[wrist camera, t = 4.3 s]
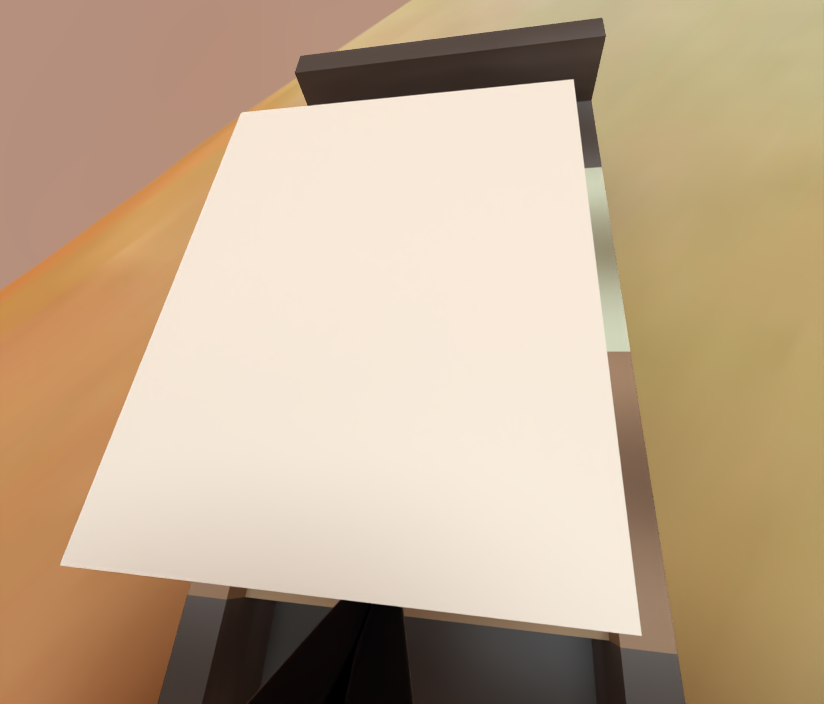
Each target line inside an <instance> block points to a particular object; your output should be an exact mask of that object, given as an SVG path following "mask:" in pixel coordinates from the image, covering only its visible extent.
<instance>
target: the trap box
mask: <svg viewBox="0 0 824 704" xmlns="http://www.w3.org/2000/svg"><path fill="white" fill-rule="evenodd" d="M605 37H606V34H605V29H604V24H603V19H602V18H597V19H589V20H581V21H573V22H565V23H558V24H550V25H542V26H534V27H526V28H518V29H510V30H502V31H494V32H487V33H479V34H471V35H463V36H455V37H447V38H439V39H431V40H423V41H415V42H408V43H400V44H392V45H384V46H376V47H368V48H360V49H352V50H344V51H337V52H329V53H321V54H313V55H305V56H300V59H299V62H298V65H297V68H296V71H295V74H296V77H297V79H298V82H299V85H300V87H301V90H302V92H303V95H304V97H305V100H306V102H307V105H308V106H312V105H322V104H332V103H342V102H352V101H362V100H372V99H382V98H392V97H402V96H412V95H422V94H432V93H442V92H452V91H462V90H472V89H482V88H492V87H502V86H512V85H522V84H532V83H542V82H552V81H562V80H572V79H574V87H575V95H576V103H577V111H578V119H579V127H580V136H581V144H582V152H583V160H584V168H585V176H586V185H587V193H588V201H589V209H590V217H591V225H592V234H593V242H594V250H595V258H596V266H597V274H598V283H599V291H600V299H601V307H602V315H603V323H604V332H605V340H606V348H607V356H608V364H609V372H610V381H611V389H612V397H613V405H614V413H615V421H616V430H617V438H618V446H619V454H620V462H621V470H622V479H623V487H624V495H625V503H626V511H627V520H628V528H629V536H630V544H631V552H632V560H633V569H634V577H635V585H636V593H637V601H638V609H639V618H640V626H641V634H642V636H638V635H629V634H621V633H613V632H605V631H596V630H588V629H580V628H572V627H563V626H555V625H547V624H539V623H530V622H522V621H514V620H506V619H498V618H489V617H481V616H473V615H465V614H456V613H448V612H440V611H432V610H423V609H415V608H407V607H403V611H404V620H405V629H406V638H407V647H408V655H409V664H410V673H411V682H412V691H413V700H414V704H685V699H684V693H683V686H682V680H681V673H680V667H679V661H678V654H677V648H676V641H675V635H674V628H673V622H672V616H671V609H670V603H669V596H668V590H667V584H666V577H665V571H664V564H663V558H662V551H661V545H660V539H659V532H658V526H657V519H656V513H655V506H654V500H653V494H652V487H651V481H650V474H649V468H648V461H647V455H646V449H645V442H644V436H643V429H642V423H641V416H640V410H639V404H638V397H637V391H636V384H635V378H634V372H633V365H632V359H631V352H630V346H629V339H628V333H627V327H626V320H625V314H624V307H623V301H622V294H621V288H620V282H619V275H618V269H617V262H616V256H615V249H614V243H613V237H612V230H611V224H610V217H609V211H608V205H607V198H606V192H605V185H604V179H603V172H602V166H601V160H600V153H599V147H598V140H597V134H596V127H595V121H594V115H593V108H592V102H591V100H592V95H593V91H594V86H595V82H596V77H597V73H598V68H599V64H600V59H601V55H602V50H603V46H604V42H605ZM339 600H340V599H333V598H325V597H316V596H308V595H300V594H292V593H283V592H275V591H267V590H259V589H250V588H242V587H234V586H226V585H217V584H209V583H201V582H193V581H191V584H190V587H189V591H188V595H187V598H186V602H185V606H184V609H183V613H182V617H181V620H180V624H179V627H178V631H177V635H176V638H175V642H174V646H173V649H172V653H171V657H170V660H169V664H168V668H167V671H166V675H165V679H164V682H163V686H162V689H161V693H160V697H159V700H158V704H247V702H248V701H249V700H250V699H251V698H252V697H253V696H254V695H255V694H256V692H257V691H258V690H259V689H260V688H261V687H262V686H263V685H264V684H265V682H266V681H267V680H268V679H269V678H270V677H271V676H272V675H273V674H274V672H275V671H276V670H277V669H278V668H279V667H280V666H281V665H282V664H283V662H284V661H285V660H286V659H287V658H288V657H289V656H290V655H291V654H292V652H293V651H294V650H295V649H296V648H297V647H298V646H299V645H300V644H301V643H302V641H303V640H304V639H305V638H306V637H307V636H308V635H309V634H310V633H311V631H312V630H313V629H314V628H315V627H316V626H317V625H318V624H319V623H320V621H321V620H322V619H323V618H324V617H325V616H326V615H327V614H328V613H329V611H330V610H331V609H332V608H333V607H334V606H335V605H336V604H337V603H338V601H339Z"/></svg>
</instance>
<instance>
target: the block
mask: <svg viewBox="0 0 824 704" xmlns="http://www.w3.org/2000/svg"><path fill="white" fill-rule="evenodd" d="M60 565H61V566H69V567H77V568H86V569H94V570H102V571H110V572H119V573H127V574H135V575H143V576H152V577H160V578H168V579H176V580H184V581H193V582H201V583H209V584H217V585H226V586H234V587H242V588H250V589H259V590H267V591H275V592H283V593H292V594H300V595H308V596H316V597H325V598H333V599H341V600H349V601H357V602H366V603H374V604H382V605H390V606H399V607H407V608H415V609H423V610H432V611H440V612H448V613H456V614H465V615H473V616H481V617H489V618H498V619H506V620H514V621H522V622H530V623H539V624H547V625H555V626H563V627H572V628H580V629H588V630H596V631H605V632H613V633H621V634H629V635H638V636H642V634H641V626H640V618H639V609H638V601H637V593H636V585H635V577H634V569H633V560H632V552H631V544H630V536H629V528H628V520H627V511H626V503H625V495H624V487H623V479H622V470H621V462H620V454H619V446H618V438H617V430H616V421H615V413H614V405H613V397H612V389H611V381H610V372H609V364H608V356H607V348H606V340H605V332H604V323H603V315H602V307H601V299H600V291H599V283H598V274H597V266H596V258H595V250H594V242H593V234H592V225H591V217H590V209H589V201H588V193H587V185H586V176H585V168H584V160H583V152H582V144H581V136H580V127H579V119H578V111H577V103H576V95H575V87H574V79H572V80H562V81H552V82H542V83H532V84H522V85H512V86H502V87H492V88H482V89H472V90H462V91H452V92H442V93H432V94H422V95H412V96H402V97H392V98H382V99H372V100H362V101H352V102H342V103H332V104H322V105H312V106H302V107H292V108H282V109H272V110H262V111H252V112H242V113H241V115H240V117H239V119H238V122H237V124H236V127H235V129H234V132H233V134H232V137H231V139H230V142H229V144H228V147H227V149H226V152H225V154H224V157H223V159H222V162H221V164H220V167H219V169H218V172H217V174H216V177H215V179H214V182H213V184H212V187H211V189H210V192H209V194H208V197H207V199H206V202H205V204H204V207H203V209H202V212H201V214H200V217H199V219H198V222H197V224H196V227H195V229H194V232H193V234H192V237H191V239H190V242H189V244H188V247H187V249H186V252H185V254H184V257H183V259H182V262H181V264H180V267H179V269H178V272H177V274H176V277H175V279H174V282H173V284H172V287H171V289H170V292H169V294H168V296H167V299H166V301H165V304H164V306H163V309H162V311H161V314H160V316H159V319H158V321H157V324H156V326H155V329H154V331H153V334H152V336H151V339H150V341H149V344H148V346H147V349H146V351H145V354H144V356H143V359H142V361H141V364H140V366H139V369H138V371H137V374H136V376H135V379H134V381H133V384H132V386H131V389H130V391H129V394H128V396H127V399H126V401H125V404H124V406H123V409H122V411H121V414H120V416H119V419H118V421H117V424H116V426H115V429H114V431H113V434H112V436H111V439H110V441H109V444H108V446H107V449H106V451H105V454H104V456H103V459H102V461H101V464H100V466H99V468H98V471H97V473H96V476H95V478H94V481H93V483H92V486H91V488H90V491H89V493H88V496H87V498H86V501H85V503H84V506H83V508H82V511H81V513H80V516H79V518H78V521H77V523H76V526H75V528H74V531H73V533H72V536H71V538H70V541H69V543H68V546H67V548H66V551H65V553H64V556H63V558H62V561H61V563H60Z"/></svg>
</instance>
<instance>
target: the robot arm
mask: <svg viewBox="0 0 824 704" xmlns="http://www.w3.org/2000/svg"><path fill="white" fill-rule="evenodd" d="M247 704H414V700H413V691H412V682H411V673H410V664H409V655H408V647H407V638H406V629H405V620H404V611H403V607H399V606H390V605H382V604H374V603H366V602H357V601H349V600H341V599H340V600H339V601H338V603H337V604H336V605H335V606H334V607H333V608H332V609H331V610H330V611H329V613H328V614H327V615H326V616H325V617H324V618H323V619H322V620H321V621H320V623H319V624H318V625H317V626H316V627H315V628H314V629H313V630H312V631H311V633H310V634H309V635H308V636H307V637H306V638H305V639H304V640H303V641H302V643H301V644H300V645H299V646H298V647H297V648H296V649H295V650H294V651H293V652H292V654H291V655H290V656H289V657H288V658H287V659H286V660H285V661H284V662H283V664H282V665H281V666H280V667H279V668H278V669H277V670H276V671H275V672H274V674H273V675H272V676H271V677H270V678H269V679H268V680H267V681H266V682H265V684H264V685H263V686H262V687H261V688H260V689H259V690H258V691H257V692H256V694H255V695H254V696H253V697H252V698H251V699H250V700H249V701H248V702H247Z"/></svg>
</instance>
